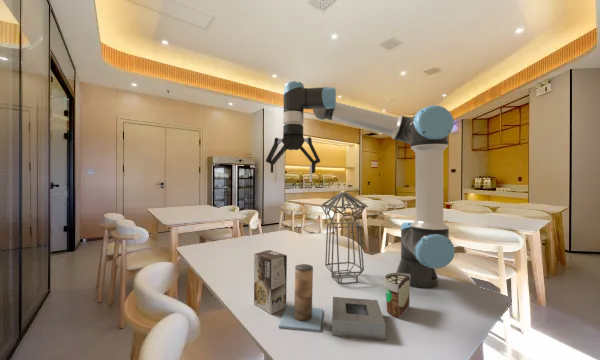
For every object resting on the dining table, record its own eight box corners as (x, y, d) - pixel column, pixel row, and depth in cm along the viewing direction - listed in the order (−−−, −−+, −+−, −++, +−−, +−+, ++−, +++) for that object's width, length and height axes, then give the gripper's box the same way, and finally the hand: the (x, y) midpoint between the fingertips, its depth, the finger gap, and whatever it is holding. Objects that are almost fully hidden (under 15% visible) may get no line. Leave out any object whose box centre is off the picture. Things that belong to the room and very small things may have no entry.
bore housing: (377, 313, 76) (377, 300, 76) (385, 340, 63) (385, 324, 63) (332, 310, 78) (333, 296, 78) (331, 335, 65) (332, 319, 65)
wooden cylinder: (312, 313, 75) (313, 264, 75) (310, 322, 70) (312, 270, 70) (295, 311, 75) (296, 263, 75) (292, 320, 70) (293, 269, 70)
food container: (391, 299, 85) (391, 269, 85) (410, 305, 81) (410, 273, 81) (376, 314, 76) (376, 280, 76) (397, 321, 72) (397, 285, 72)
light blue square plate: (322, 310, 77) (322, 308, 77) (320, 331, 66) (320, 329, 66) (286, 307, 79) (286, 305, 79) (278, 327, 68) (278, 325, 68)
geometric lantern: (331, 288, 94) (330, 192, 95) (320, 274, 109) (319, 192, 110) (371, 285, 97) (370, 192, 98) (355, 271, 112) (353, 191, 113)
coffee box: (287, 307, 79) (287, 255, 79) (270, 314, 75) (271, 259, 75) (269, 297, 86) (269, 249, 86) (252, 304, 81) (253, 252, 81)
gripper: (327, 126, 98) (326, 182, 98) (263, 127, 101) (263, 181, 101) (326, 121, 90) (325, 182, 90) (258, 123, 94) (257, 181, 94)
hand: (292, 182), depth 96 cm, fingers open, 13 cm apart
